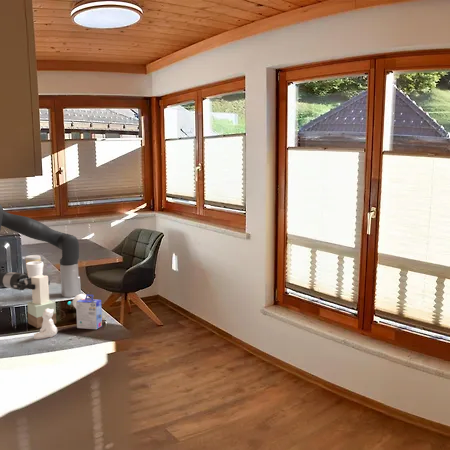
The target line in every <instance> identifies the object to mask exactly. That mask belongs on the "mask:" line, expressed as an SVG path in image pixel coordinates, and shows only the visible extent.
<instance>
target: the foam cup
mask: <svg viewBox="0 0 450 450" xmlns="http://www.w3.org/2000/svg"><path fill="white" fill-rule="evenodd" d="M25 268H26V273H27V272H28V275H27V276H28V277H29V278H31V277H34V276H37V275H44V274H43V272H44V261H42V260H41V261H32V262H28V263H26V262H25Z"/></svg>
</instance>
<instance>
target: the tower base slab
mask: <svg viewBox="0 0 450 450" xmlns="http://www.w3.org/2000/svg"><path fill="white" fill-rule="evenodd" d="M52 320H53V322H54V325H55V324H57V312H56V313H54V314H53V316H52ZM27 323H28V325H31V326H32V327H34V328H37V329H41V328H42V323H43V318H42V317H37V318H36V317H35V316H33V315H31V314H29V313H28V312H27Z"/></svg>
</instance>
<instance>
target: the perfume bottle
mask: <svg viewBox="0 0 450 450" xmlns="http://www.w3.org/2000/svg"><path fill="white" fill-rule="evenodd" d="M85 298H86V294H83V293H81V294H79V295H77V296H74V298H73V299H72V301H71V300H70V301H68V302H67V305H68V306H70V307H74V308H75V309H76V302H77V301H79V300H80V299H85ZM87 298H89V296H87Z"/></svg>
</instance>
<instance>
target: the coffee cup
mask: <svg viewBox="0 0 450 450" xmlns="http://www.w3.org/2000/svg"><path fill="white" fill-rule="evenodd" d="M24 260H25V264H26V263H28V262H32V261H42V257H41V255H39V254H31V255H26V256H25V258H24ZM26 273H27V274H26V275H27V276H28V272H27V271H26Z"/></svg>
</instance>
